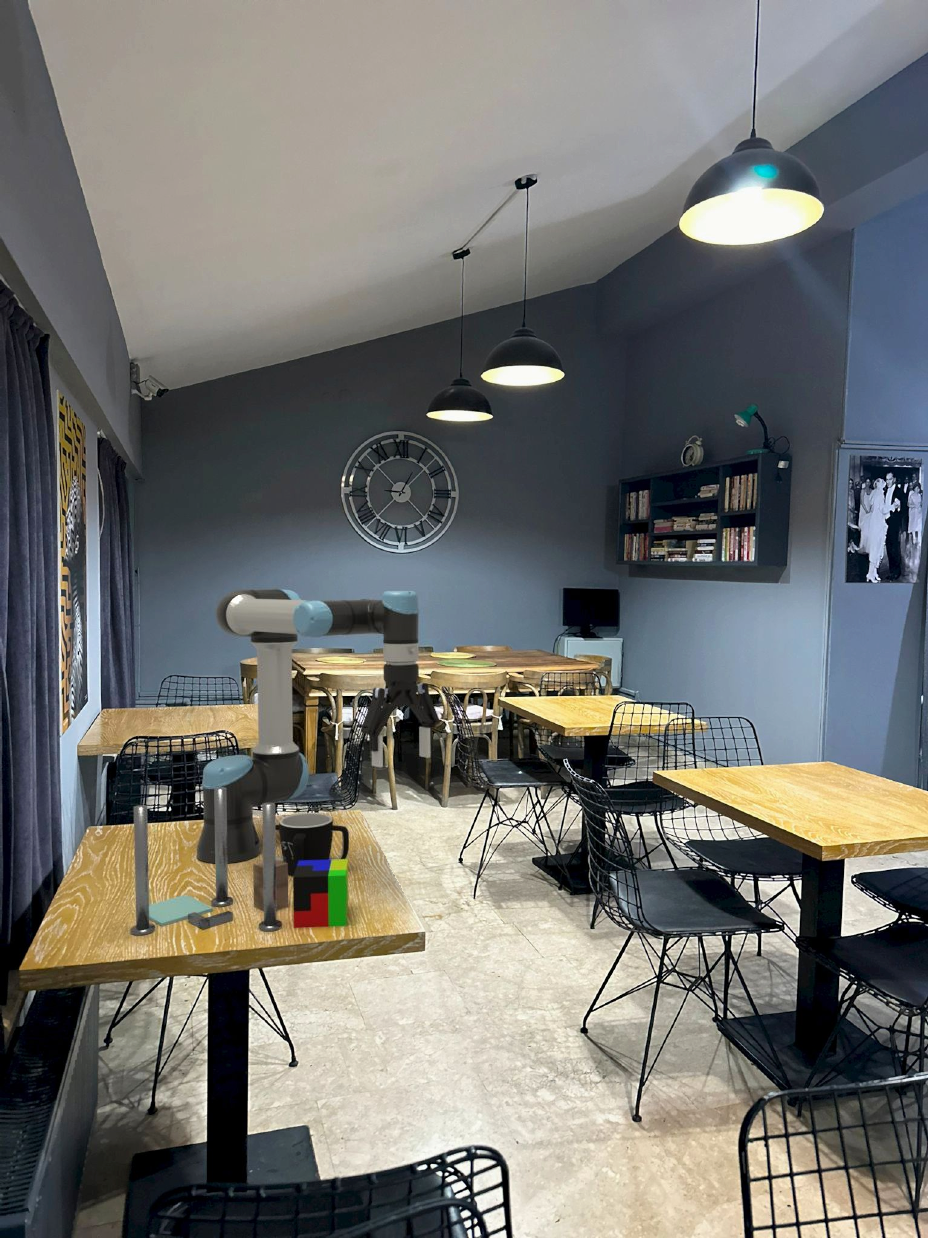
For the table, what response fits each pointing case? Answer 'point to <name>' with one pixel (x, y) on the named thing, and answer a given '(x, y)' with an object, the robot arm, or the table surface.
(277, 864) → the walnut block
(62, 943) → the table surface
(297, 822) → the mug
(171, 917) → the pad
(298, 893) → the puzzle toy
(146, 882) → the post
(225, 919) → the gray corner bracket
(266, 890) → the post
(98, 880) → the table surface
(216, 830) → the post
